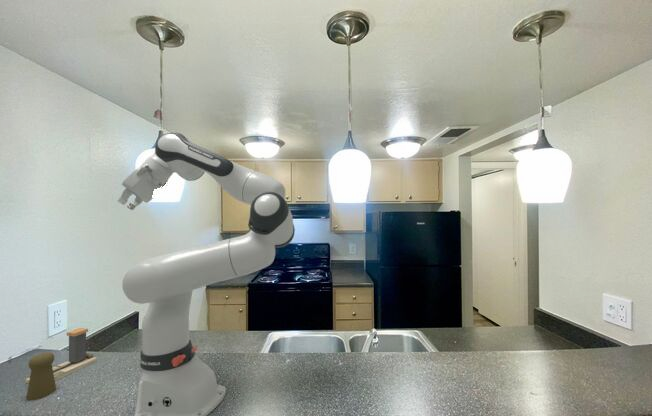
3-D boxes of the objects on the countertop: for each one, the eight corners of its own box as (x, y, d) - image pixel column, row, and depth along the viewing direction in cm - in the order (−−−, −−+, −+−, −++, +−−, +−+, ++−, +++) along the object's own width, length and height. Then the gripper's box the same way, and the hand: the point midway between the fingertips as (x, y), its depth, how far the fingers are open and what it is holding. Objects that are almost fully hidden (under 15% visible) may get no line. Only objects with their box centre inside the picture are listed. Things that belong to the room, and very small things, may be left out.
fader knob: (88, 357, 96) (88, 328, 96) (75, 363, 92) (75, 333, 92) (80, 356, 97) (80, 327, 97) (66, 362, 93) (66, 332, 93)
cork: (36, 401, 75) (36, 360, 76) (20, 399, 76) (20, 359, 77) (61, 388, 81) (61, 350, 81) (46, 386, 82) (46, 349, 83)
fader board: (97, 361, 97) (97, 354, 97) (43, 386, 82) (43, 379, 82) (80, 358, 99) (80, 352, 99) (25, 383, 84) (25, 375, 84)
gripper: (156, 169, 85) (124, 205, 80) (167, 186, 104) (142, 216, 99) (137, 157, 84) (103, 193, 79) (152, 176, 102) (125, 206, 97)
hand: (125, 206), depth 89 cm, fingers open, 8 cm apart
